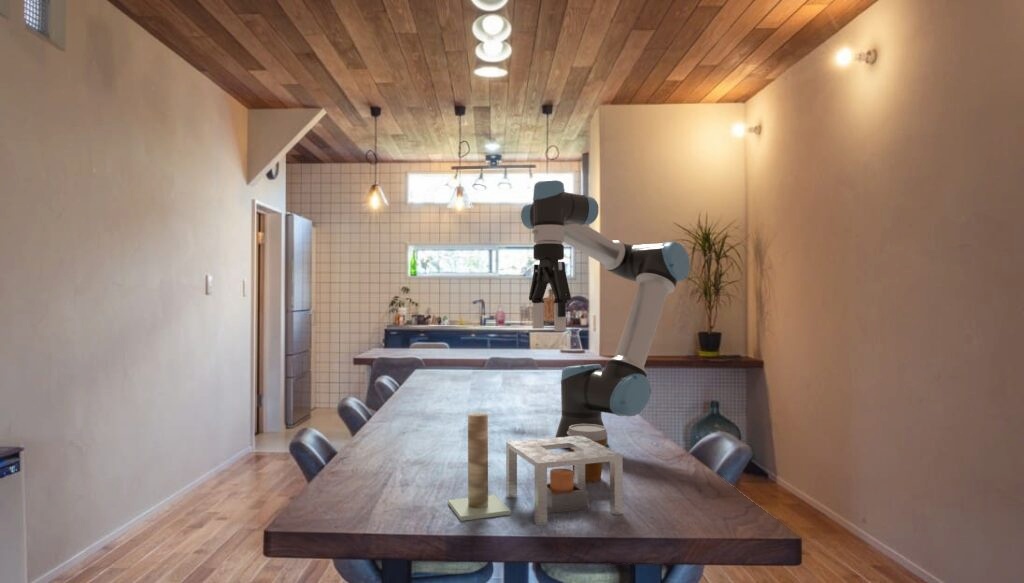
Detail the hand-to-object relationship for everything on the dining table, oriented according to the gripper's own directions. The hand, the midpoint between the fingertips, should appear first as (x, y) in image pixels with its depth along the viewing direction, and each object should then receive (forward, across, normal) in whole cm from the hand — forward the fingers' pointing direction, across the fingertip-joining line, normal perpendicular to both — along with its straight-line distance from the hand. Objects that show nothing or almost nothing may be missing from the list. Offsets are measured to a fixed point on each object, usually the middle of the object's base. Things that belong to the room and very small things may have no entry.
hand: (548, 329), depth 147 cm
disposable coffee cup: (+35, +9, +6) cm, 37 cm away
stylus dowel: (+34, +20, -24) cm, 46 cm away
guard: (+35, +23, -7) cm, 42 cm away
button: (+34, +23, -7) cm, 42 cm away
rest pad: (+35, +20, -24) cm, 47 cm away
